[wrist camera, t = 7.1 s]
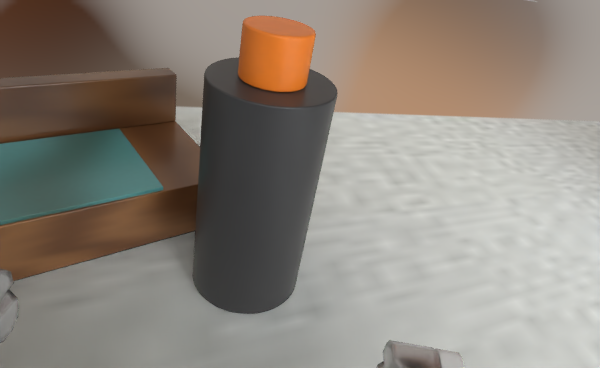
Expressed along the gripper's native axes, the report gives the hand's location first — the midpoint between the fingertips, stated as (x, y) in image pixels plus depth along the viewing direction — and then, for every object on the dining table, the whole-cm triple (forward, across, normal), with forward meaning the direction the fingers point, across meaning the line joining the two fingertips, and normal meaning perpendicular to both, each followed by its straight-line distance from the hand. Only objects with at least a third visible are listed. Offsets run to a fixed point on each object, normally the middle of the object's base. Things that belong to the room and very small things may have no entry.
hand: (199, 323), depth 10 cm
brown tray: (+12, +10, +8) cm, 17 cm away
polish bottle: (+10, 0, +8) cm, 13 cm away
